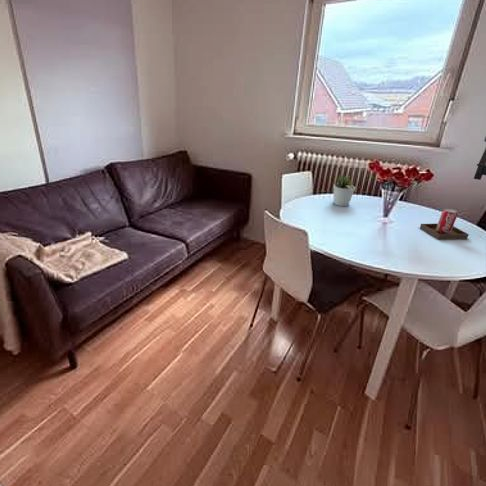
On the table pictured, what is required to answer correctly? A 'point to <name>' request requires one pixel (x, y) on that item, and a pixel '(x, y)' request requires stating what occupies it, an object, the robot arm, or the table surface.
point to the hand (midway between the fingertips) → (480, 177)
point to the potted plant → (343, 191)
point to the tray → (433, 232)
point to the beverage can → (446, 221)
